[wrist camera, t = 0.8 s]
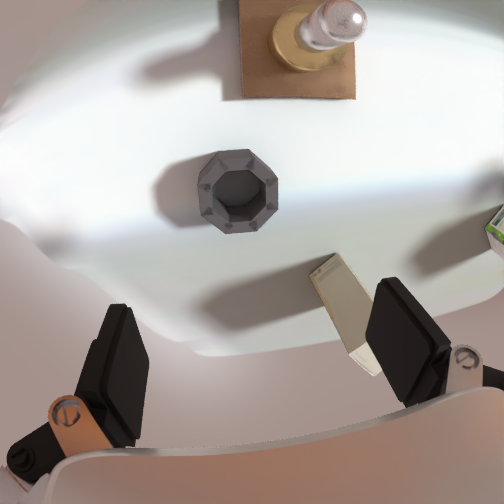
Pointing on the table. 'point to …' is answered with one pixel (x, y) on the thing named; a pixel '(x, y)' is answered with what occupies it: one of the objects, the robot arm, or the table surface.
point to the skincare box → (347, 308)
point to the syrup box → (497, 233)
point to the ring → (241, 215)
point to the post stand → (299, 47)
